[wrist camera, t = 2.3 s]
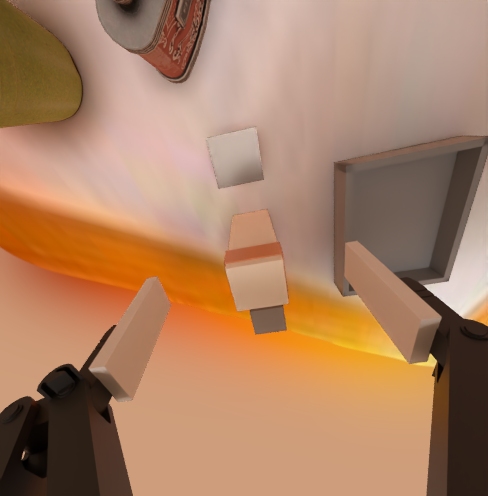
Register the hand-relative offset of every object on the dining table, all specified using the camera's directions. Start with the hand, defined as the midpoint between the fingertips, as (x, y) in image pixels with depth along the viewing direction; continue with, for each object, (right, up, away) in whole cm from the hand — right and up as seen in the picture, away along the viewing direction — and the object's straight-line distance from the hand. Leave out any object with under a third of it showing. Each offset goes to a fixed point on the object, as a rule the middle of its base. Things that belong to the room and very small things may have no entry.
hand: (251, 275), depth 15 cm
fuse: (0, +4, +8) cm, 9 cm away
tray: (+15, +5, +7) cm, 17 cm away
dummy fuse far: (+2, -2, +11) cm, 12 cm away
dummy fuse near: (-1, +11, +4) cm, 12 cm away
